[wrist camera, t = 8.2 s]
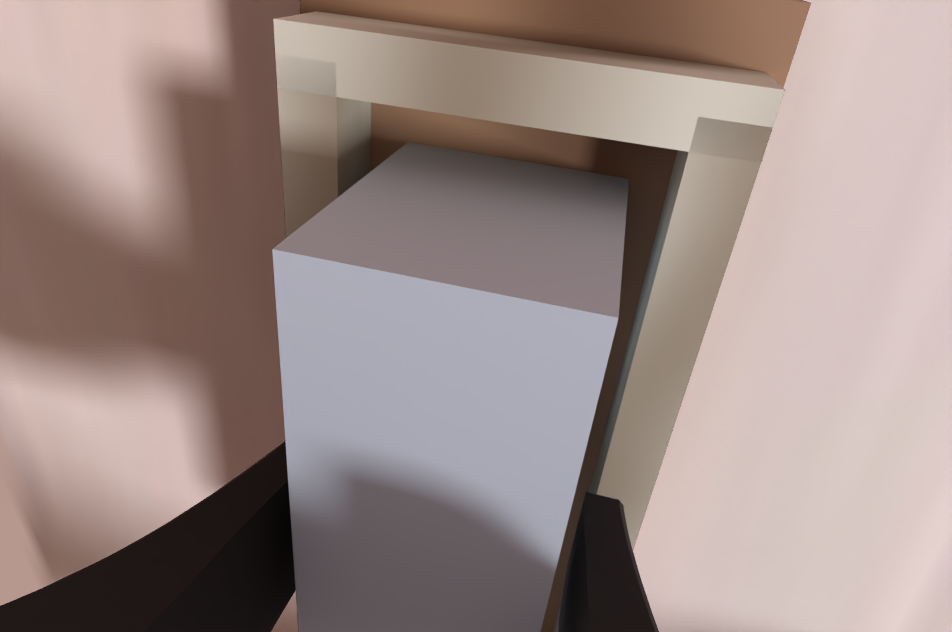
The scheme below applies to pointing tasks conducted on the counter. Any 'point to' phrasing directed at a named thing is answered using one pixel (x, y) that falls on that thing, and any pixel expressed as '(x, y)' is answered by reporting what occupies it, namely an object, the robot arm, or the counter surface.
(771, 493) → the counter surface
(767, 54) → the framed wooden panel
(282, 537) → the robot arm
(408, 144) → the grey box
